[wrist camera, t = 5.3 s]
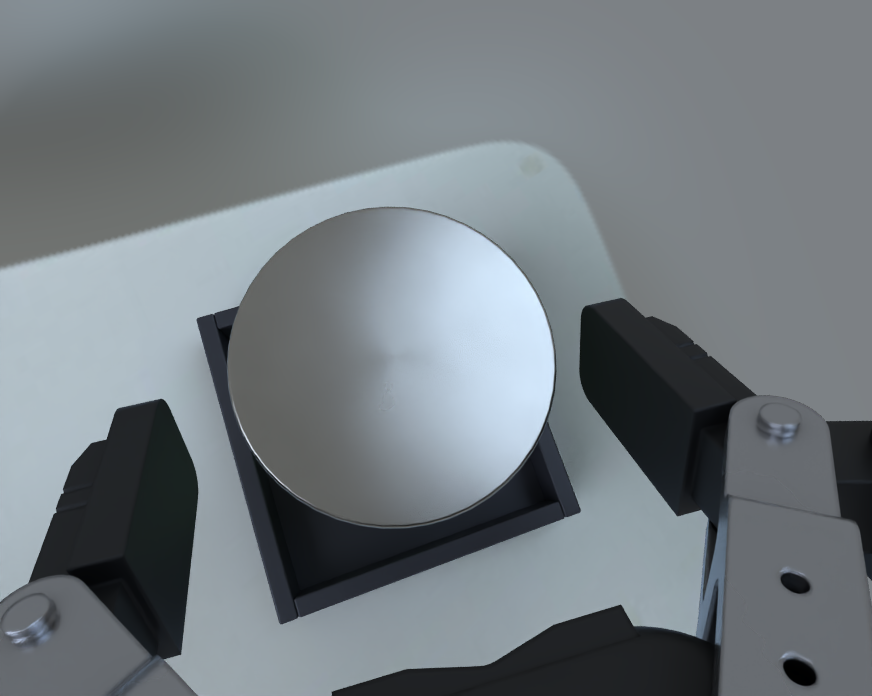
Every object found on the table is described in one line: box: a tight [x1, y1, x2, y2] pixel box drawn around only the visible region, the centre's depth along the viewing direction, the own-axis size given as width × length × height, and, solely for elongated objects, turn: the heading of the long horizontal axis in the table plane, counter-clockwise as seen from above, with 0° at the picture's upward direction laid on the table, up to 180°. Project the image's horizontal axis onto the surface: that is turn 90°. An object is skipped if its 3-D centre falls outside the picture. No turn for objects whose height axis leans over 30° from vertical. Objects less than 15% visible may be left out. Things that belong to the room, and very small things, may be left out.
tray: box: [197, 306, 581, 624], centre depth 18 cm, size 9×9×2 cm
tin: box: [227, 207, 556, 529], centre depth 14 cm, size 5×5×9 cm
